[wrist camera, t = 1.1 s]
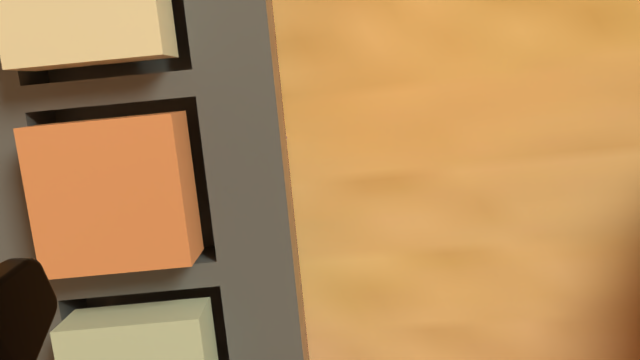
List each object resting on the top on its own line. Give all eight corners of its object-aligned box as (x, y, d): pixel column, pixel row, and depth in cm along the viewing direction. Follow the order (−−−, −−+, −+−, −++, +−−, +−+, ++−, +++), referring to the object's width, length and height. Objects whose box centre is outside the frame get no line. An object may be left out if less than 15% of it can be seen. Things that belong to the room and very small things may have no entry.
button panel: (312, 395, 22) (311, 439, 19) (52, 418, 22) (14, 465, 20) (260, -108, 19) (250, -140, 17) (-39, -78, 19) (-98, -105, 17)
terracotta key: (203, 249, 19) (191, 266, 17) (67, 261, 19) (40, 280, 17) (185, 110, 18) (171, 113, 16) (43, 124, 18) (12, 128, 16)
